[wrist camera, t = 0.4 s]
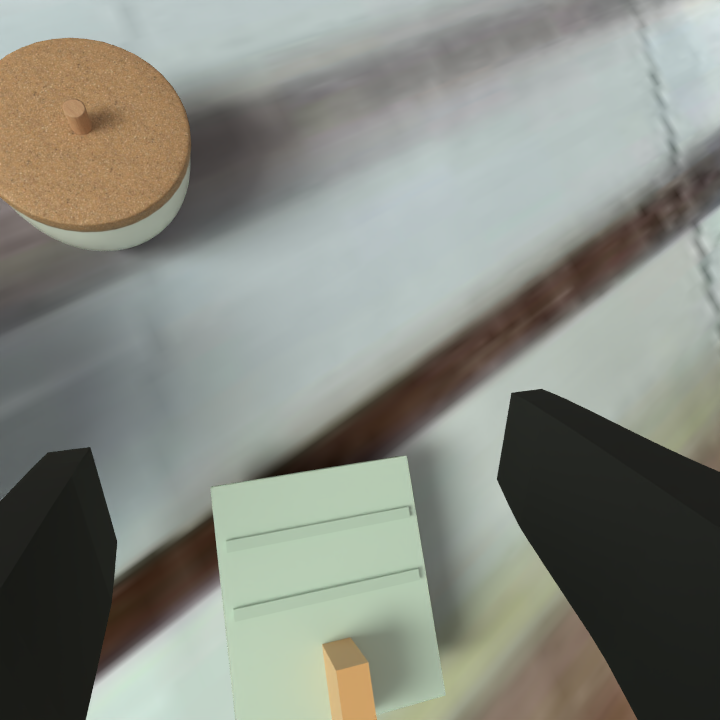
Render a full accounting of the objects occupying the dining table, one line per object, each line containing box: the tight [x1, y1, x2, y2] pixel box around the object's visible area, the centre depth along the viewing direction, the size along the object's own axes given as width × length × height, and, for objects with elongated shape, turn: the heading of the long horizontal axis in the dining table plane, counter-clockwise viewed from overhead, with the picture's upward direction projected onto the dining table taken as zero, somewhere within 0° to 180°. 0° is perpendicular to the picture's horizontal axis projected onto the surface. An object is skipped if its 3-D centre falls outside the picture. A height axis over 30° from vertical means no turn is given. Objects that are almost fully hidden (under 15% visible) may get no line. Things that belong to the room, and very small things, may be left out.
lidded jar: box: [0, 38, 191, 251], centre depth 31 cm, size 11×11×9 cm
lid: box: [210, 456, 446, 720], centre depth 29 cm, size 13×11×6 cm
